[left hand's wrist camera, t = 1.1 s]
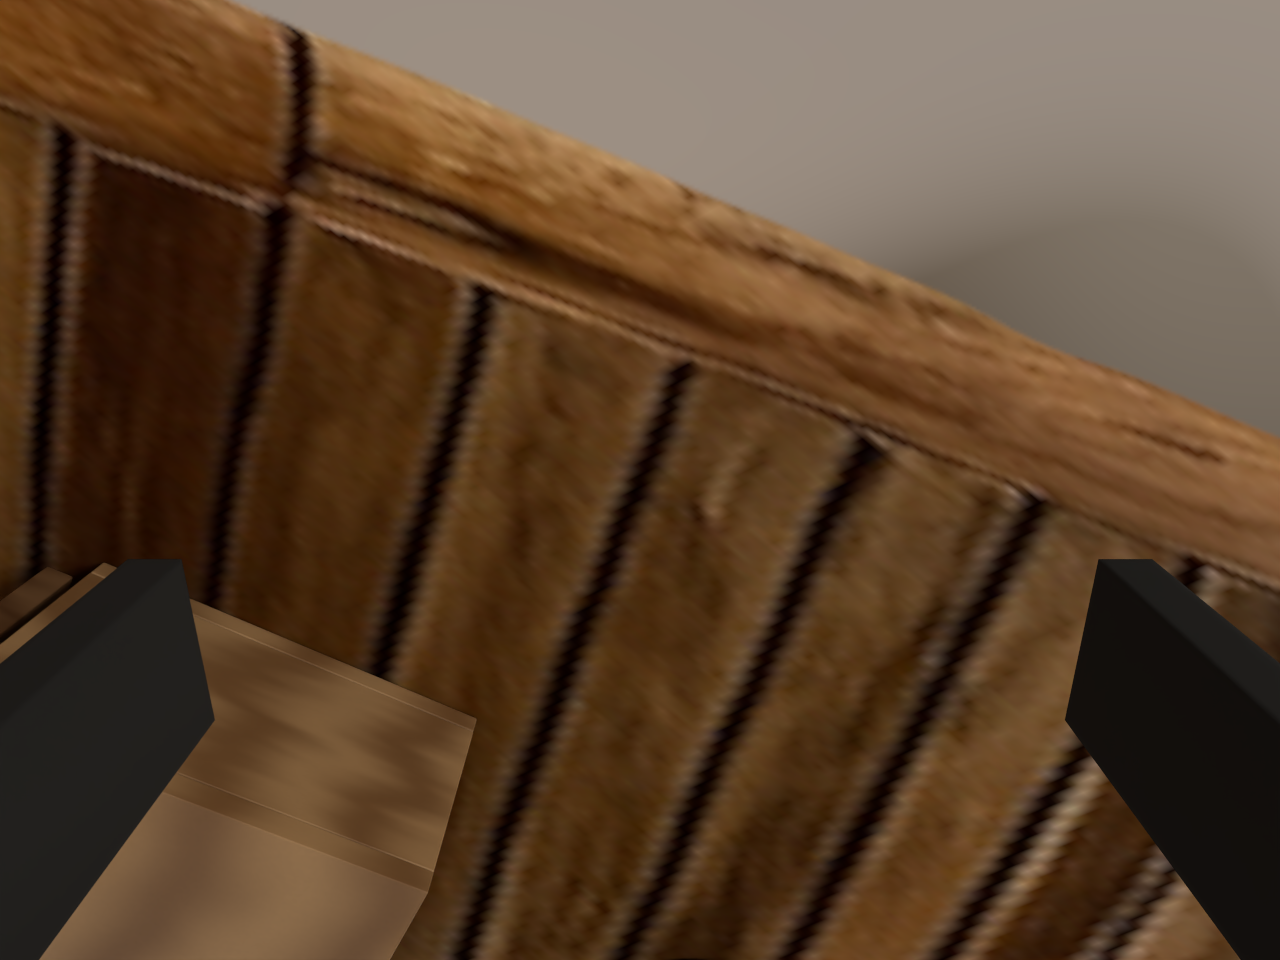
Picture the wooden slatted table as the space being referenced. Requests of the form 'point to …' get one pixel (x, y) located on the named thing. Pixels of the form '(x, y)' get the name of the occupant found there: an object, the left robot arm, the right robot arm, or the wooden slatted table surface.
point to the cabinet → (277, 812)
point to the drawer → (31, 600)
